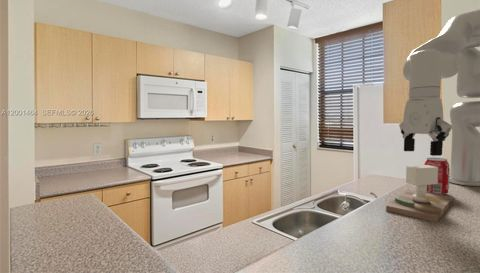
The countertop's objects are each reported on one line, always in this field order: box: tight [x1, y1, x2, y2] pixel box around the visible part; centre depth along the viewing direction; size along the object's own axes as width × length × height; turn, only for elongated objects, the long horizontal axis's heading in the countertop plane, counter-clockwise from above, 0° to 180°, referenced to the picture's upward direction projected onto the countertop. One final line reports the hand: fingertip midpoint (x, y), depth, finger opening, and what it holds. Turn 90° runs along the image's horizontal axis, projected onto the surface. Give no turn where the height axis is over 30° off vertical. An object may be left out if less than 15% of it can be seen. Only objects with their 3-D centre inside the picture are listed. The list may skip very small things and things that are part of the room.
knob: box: [405, 164, 443, 204], centre depth 77 cm, size 9×7×10 cm
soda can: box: [423, 157, 450, 196], centre depth 92 cm, size 7×7×12 cm
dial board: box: [385, 189, 454, 223], centre depth 80 cm, size 22×12×2 cm, turn 133°
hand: (421, 153), depth 78 cm, fingers open, 9 cm apart
